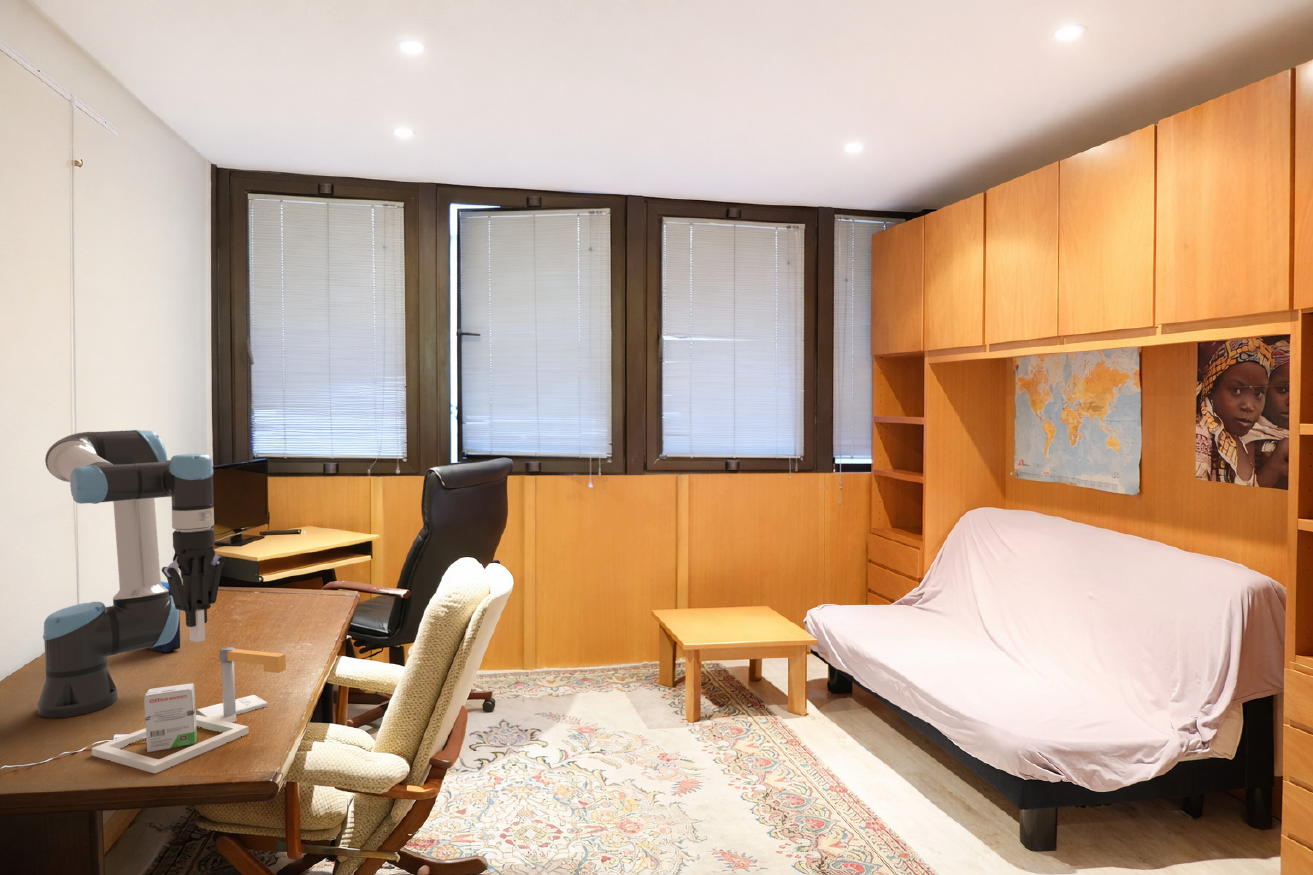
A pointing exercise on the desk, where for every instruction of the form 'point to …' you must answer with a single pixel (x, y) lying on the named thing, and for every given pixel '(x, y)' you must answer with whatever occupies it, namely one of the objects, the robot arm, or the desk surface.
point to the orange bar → (255, 658)
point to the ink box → (170, 717)
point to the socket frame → (216, 724)
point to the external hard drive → (241, 706)
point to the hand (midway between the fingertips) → (197, 640)
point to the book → (175, 641)
